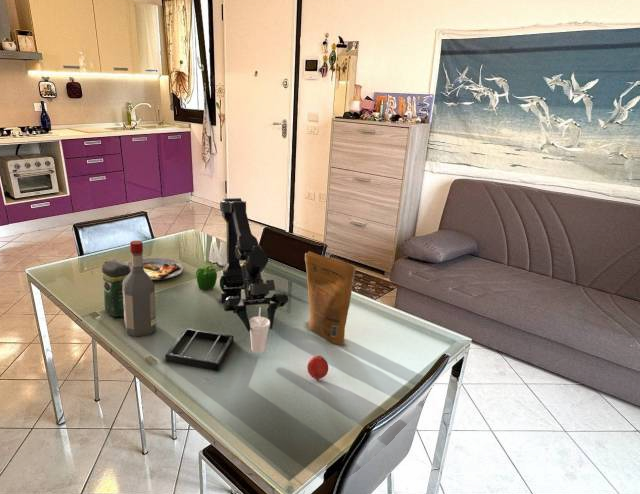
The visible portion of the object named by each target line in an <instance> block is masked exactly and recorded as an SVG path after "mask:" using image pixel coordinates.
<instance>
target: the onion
mask: <svg viewBox="0 0 640 494" xmlns="http://www.w3.org/2000/svg"><path fill="white" fill-rule="evenodd" d="M306 369H307V373H308V374H309V376H311V378H313V379H314V380H317V381H318V380H320V379H323V378H324V377H326V376H327V375H328V373H329V364H328V361H327V360H326V358H324V357H323V356H322V355H321V354H317V355H315V356H313V357H312V358H310V359H309V361H308V363H307V365H306Z"/></svg>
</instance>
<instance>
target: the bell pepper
mask: <svg viewBox="0 0 640 494" xmlns="http://www.w3.org/2000/svg"><path fill="white" fill-rule="evenodd" d="M195 279H196V283H197V286H198V288H199V290H201V291H206V292H207V291H209V290H213V289H214V288H215V286H216V283H217V279H218V272H217V270H216V268H214V265H212V264H209V265H207V266H204V267H202V268H200V267H199V268H197V269H196V272H195Z"/></svg>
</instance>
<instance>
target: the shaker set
mask: <svg viewBox="0 0 640 494" xmlns="http://www.w3.org/2000/svg"><path fill="white" fill-rule="evenodd" d="M208 262H210V263H217V265H219V266H221V267H223V268H224V267H225V266H226V264H227V244H226V243H225V242H223V241H222V242H220V244H219V247H218V244H217V242H216V241H213V240H212V241H211V243H210V248H209V255H208Z"/></svg>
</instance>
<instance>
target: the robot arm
mask: <svg viewBox="0 0 640 494" xmlns="http://www.w3.org/2000/svg"><path fill="white" fill-rule="evenodd" d="M222 199H223V200H221V201H220V202H219V211H220V212H221V217H222V218H223V220H224V221H225V223H226V224H225V225H226V248H227V264H226V266H225V267H223V269H222V275H221V276H220V279H219V287H220V289H221V294H220V295H221V297H220V300H219V301H220V303H222V304H223V311H224V312H232V313H233V314H236V315H237V317H238V318H240V320H241V321H242V323H243V325H244V326H245V328H246V330H247V331H248V332H250V324H249V315H248V310H247V306H248V307H249V306H260V305H261V306H262V305H268V307H267V308H266V315H267V319H269V320H270V327H269V330H273V326H274V320H275V315H276V311H277V310H278V308H282V307H284V306H286V305H287V304H288V302H289V295H288V294H287V293H286V292H276V293H273V295H272V296H271V297H267V296H268V295H270V292H271V291H275V290H276V285H275V280H274V279H266V280H265V282H264V279H263V278H262V272H263V271H264V269H265V268H266V266H267V264H268V263H269V255H268V254H267V252H265V251H264V250H263V248H262V247H261V245H260V243H259V240H258V238H257V237H256V236H255V235H253V234H252V230H251V226H250V222H249V218H248V214H247V213H248V212H247V201H246V200H242V197H224V198H222ZM240 261H245V262H243V263H242V265H241V262H240ZM242 290H243V291H244V296H245V298H243V299H242Z"/></svg>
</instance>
